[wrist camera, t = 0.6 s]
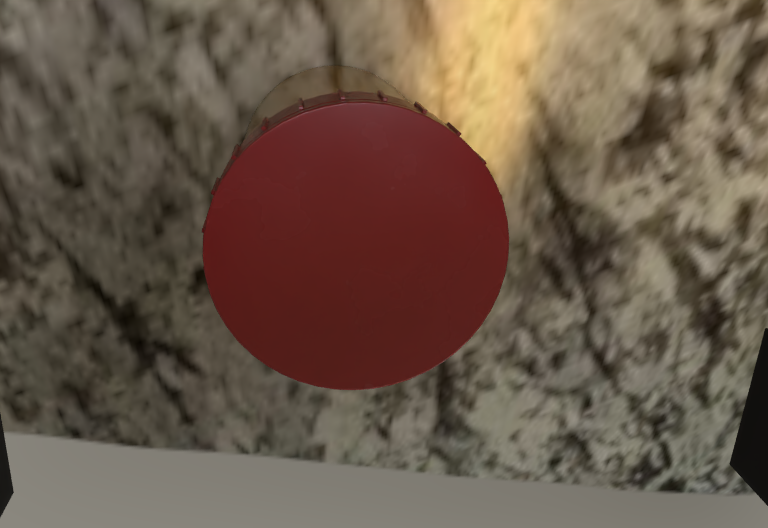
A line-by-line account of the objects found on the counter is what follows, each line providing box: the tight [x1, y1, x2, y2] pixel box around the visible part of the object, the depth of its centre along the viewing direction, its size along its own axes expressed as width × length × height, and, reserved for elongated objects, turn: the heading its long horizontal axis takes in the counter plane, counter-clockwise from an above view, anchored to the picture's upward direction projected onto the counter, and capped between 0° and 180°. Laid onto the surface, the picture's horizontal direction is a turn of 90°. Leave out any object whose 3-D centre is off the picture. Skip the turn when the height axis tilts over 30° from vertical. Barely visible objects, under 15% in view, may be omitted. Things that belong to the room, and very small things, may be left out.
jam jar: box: [244, 66, 408, 140], centre depth 24 cm, size 7×7×11 cm
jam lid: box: [202, 89, 509, 390], centre depth 19 cm, size 8×8×2 cm
